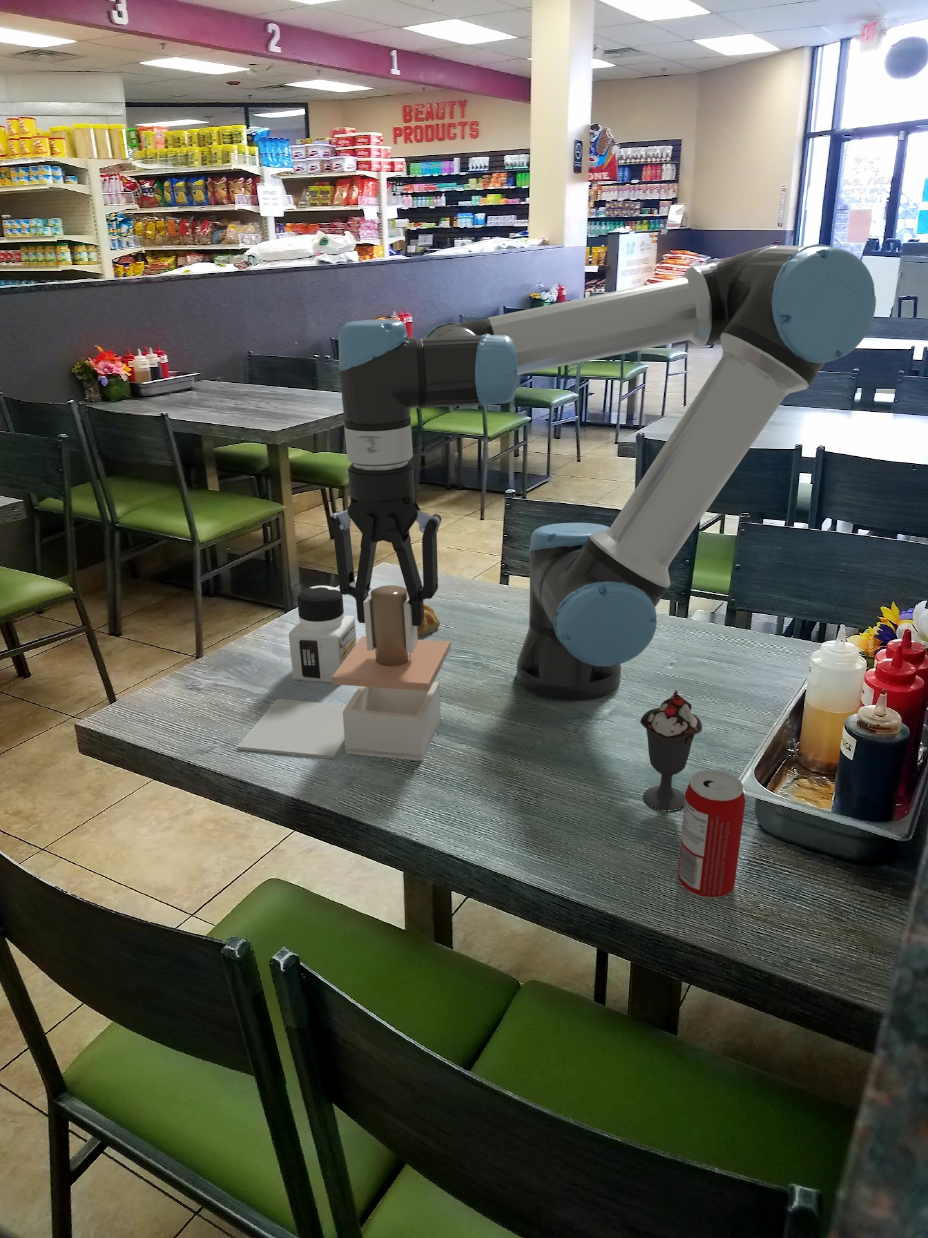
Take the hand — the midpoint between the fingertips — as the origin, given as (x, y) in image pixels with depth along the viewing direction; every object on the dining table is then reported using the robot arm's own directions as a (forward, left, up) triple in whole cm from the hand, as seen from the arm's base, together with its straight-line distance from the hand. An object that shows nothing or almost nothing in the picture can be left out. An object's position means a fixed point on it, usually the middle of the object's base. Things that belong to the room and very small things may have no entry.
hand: (392, 646), depth 112 cm
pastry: (+7, -34, -13) cm, 37 cm away
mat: (+13, 0, -13) cm, 18 cm away
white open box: (0, 0, -13) cm, 13 cm away
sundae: (-34, +8, -13) cm, 38 cm away
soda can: (-38, +22, -13) cm, 46 cm away
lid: (0, 0, -3) cm, 3 cm away
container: (+16, -17, -13) cm, 27 cm away
